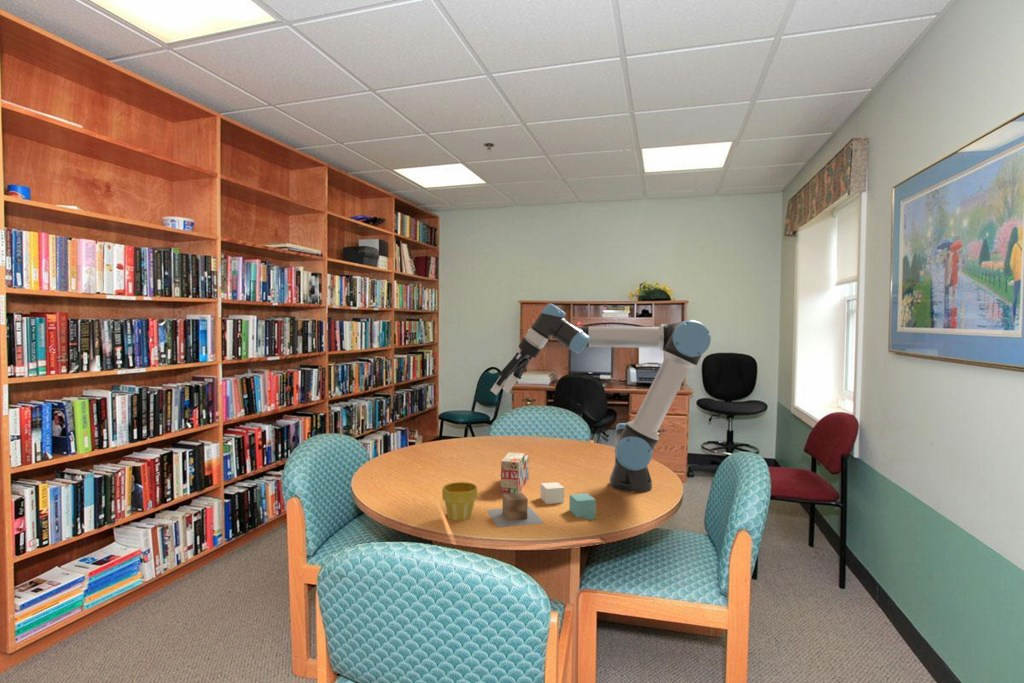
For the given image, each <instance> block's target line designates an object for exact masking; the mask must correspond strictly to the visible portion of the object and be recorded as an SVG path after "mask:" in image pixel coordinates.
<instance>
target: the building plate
mask: <svg viewBox="0 0 1024 683" xmlns="http://www.w3.org/2000/svg"><path fill="white" fill-rule="evenodd" d="M486 512H487V513H488V515H489V516H490V518H491V519H492V521H493V523H494V524H495V525H496V527H497V528H508V527H516V526H517V527H518V526H527V525H528V526H529V525H538V524H539V525H540V524H545V521H544V520H542V518H541V517H540V516H539V515H538V514H537V512H536V511H534V509H533V508H532V507H531V506H528V508H527V519H523V520H511V521H507V519H506V518H505V516H504V515H503V514H502V508H494V509H486Z"/></svg>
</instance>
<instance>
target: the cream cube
mask: <svg viewBox="0 0 1024 683" xmlns="http://www.w3.org/2000/svg"><path fill="white" fill-rule="evenodd" d="M539 491H540V496H539V497H540V500H541V501H543V502H544V503H545V504H546V505H550V504H564V503H565V487H564V486H563V485H561V483H559V482H558V481H557V482H555V481H554V482H543V483H540V490H539Z"/></svg>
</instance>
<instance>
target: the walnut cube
mask: <svg viewBox="0 0 1024 683" xmlns="http://www.w3.org/2000/svg"><path fill="white" fill-rule="evenodd" d="M528 500H529V499H528V498H527V496H525V494H524V493H523V492H521V493H508V494H503V495H502V508H501V509H502V514H503V515H504V516H505V518H506V519H507V521H511V520H523V519H527V508H528V507H529V506H528V505H529V504H528V502H529V501H528Z"/></svg>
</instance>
